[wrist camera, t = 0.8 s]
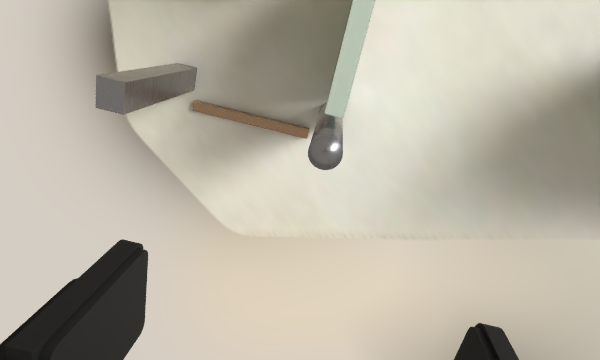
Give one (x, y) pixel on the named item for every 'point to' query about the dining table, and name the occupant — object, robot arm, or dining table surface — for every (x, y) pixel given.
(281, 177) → the dining table surface
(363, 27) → the door
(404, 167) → the dining table surface
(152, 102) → the door frame
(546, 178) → the dining table surface
